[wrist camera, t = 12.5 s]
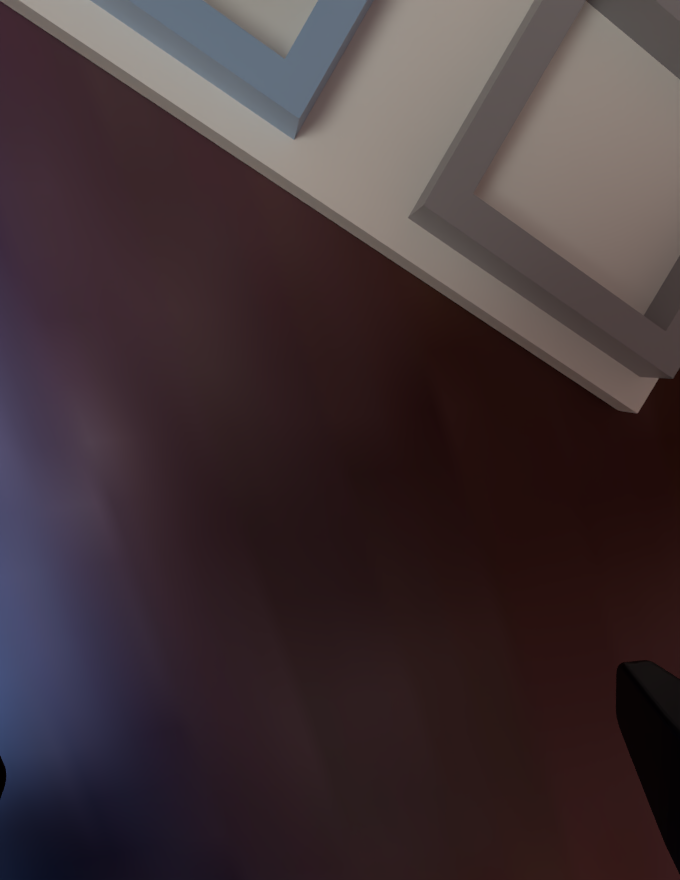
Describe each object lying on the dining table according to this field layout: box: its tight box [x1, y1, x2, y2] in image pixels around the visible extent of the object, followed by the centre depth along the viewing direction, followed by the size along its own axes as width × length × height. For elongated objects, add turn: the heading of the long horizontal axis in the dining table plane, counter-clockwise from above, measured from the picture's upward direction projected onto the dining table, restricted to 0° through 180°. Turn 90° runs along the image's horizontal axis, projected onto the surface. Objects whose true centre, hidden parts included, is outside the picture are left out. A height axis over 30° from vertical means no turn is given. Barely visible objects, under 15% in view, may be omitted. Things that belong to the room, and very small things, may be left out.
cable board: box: [0, 0, 680, 413], centre depth 17 cm, size 23×11×2 cm, turn 59°
